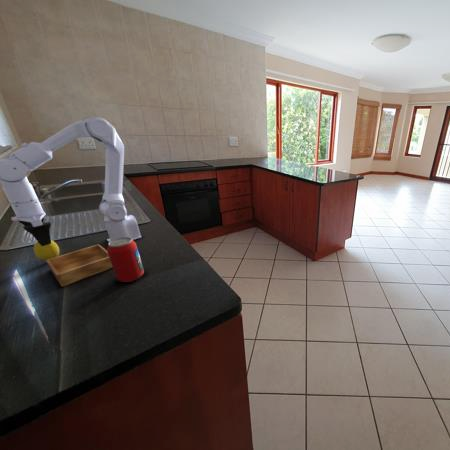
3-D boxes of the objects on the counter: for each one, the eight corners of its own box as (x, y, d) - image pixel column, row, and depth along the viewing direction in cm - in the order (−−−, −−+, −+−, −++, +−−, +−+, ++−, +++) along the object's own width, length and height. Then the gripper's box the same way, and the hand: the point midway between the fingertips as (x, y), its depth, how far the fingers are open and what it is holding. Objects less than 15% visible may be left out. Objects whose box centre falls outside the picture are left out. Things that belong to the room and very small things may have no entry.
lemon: (48, 266, 75) (38, 244, 72) (35, 264, 76) (24, 242, 73) (67, 257, 80) (58, 236, 77) (54, 255, 81) (45, 234, 78)
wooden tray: (102, 253, 83) (98, 243, 82) (116, 266, 76) (113, 255, 74) (50, 270, 73) (45, 259, 72) (61, 286, 66) (56, 275, 65)
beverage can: (150, 273, 73) (140, 238, 68) (129, 286, 67) (116, 248, 62) (133, 268, 75) (123, 234, 70) (112, 281, 69) (98, 244, 64)
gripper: (0, 199, 71) (21, 239, 77) (7, 209, 63) (29, 253, 69) (34, 194, 77) (51, 232, 82) (43, 202, 69) (62, 244, 74)
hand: (43, 241), depth 76 cm, fingers open, 7 cm apart
